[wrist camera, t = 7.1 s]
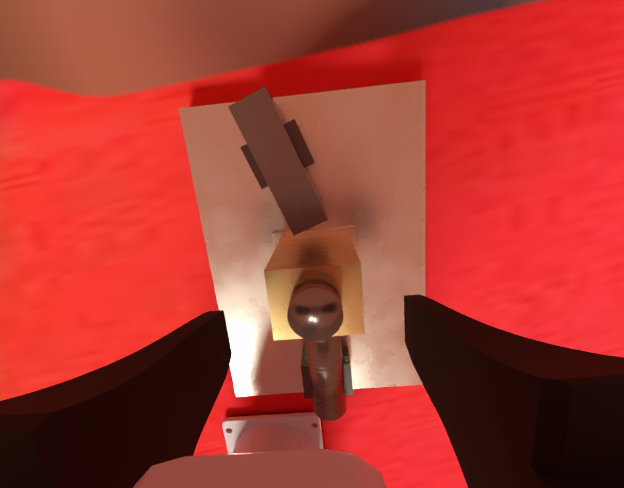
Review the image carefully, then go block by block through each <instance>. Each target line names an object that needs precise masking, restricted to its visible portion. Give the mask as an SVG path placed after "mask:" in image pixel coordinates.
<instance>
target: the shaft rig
mask: <svg viewBox="0 0 624 488" xmlns="http://www.w3.org/2000/svg"><path fill="white" fill-rule="evenodd" d="M179 113H180V118H181V123H182V128H183V133H184V138H185V143H186V148H187V153H188V158H189V163H190V168H191V173H192V178H193V183H194V188H195V193H196V198H197V203H198V208H199V213H200V218H201V223H202V228H203V233H204V238H205V243H206V248H207V253H208V258H209V263H210V268H211V273H212V278H213V283H214V288H215V293H216V298H217V303H218V308H219V311H220V310H224V315H225V320H226V325H227V330H228V335H229V341H230V346H231V351H232V357H231V361H230V368H231V373H232V378H233V383H234V388H235V393H236V397H240V396H255V395H270V394H286V393H301V392H304V396H305V398H312V401H313V409H314V413H315V414H316V416H318V417H319V418H320V419H323V420H327V421H331V420H336V419H338V418H340V417H341V416H342V415H343V414H344V413H345V411H346V396H348V395H353V389H361V388H377V387H392V386H407V385H422V384H423V383H422V381H421V379H420V378H419V376H418V374H417V372H416V370H415V368H414V366H413V364H412V361H411V358H410V355H409V353H408V350H407V347H406V344H405V328H404V296H405V295H418V294H420V295H423V296H425V297H426V80H421V81H413V82H404V83H395V84H386V85H378V86H369V87H360V88H352V89H343V90H334V91H325V92H317V93H308V94H299V95H291V96H282V97H273V98H272V96H271V94H270V93H269V92H268V90H267V89H266V87H265V86H264V87H263V88H261V89H259V90H257V91H255V92H254V93H252V94H250V95H248V96H246V97H244V98H243V99H241V100H239V101H237V102H230V103H221V104H212V105H204V106H195V107H186V108H179ZM344 235H349V236H350V239H351V241H352V243H353V246H354V248H355V250H356V253H357V255H358V257H359V260H360V262H361V272H362V291H363V310H364V328H365V334H359V335H345V336H331V337H330V338H327V339H325V340H320V341H311V340H307V339H304V338H302V339H288V340H274V338H273V331H272V324H271V318H270V311H269V304H268V297H267V290H266V283H265V276H264V269H265V267H266V266H267V264H268V262H269V260H270V258H271V256H272V254H273V252H274V250H275V248H276V246H277V245H278V243H279V241H286V240H298V239H309V238H321V237H333V236H344Z"/></svg>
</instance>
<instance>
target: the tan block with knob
mask: <svg viewBox="0 0 624 488" xmlns="http://www.w3.org/2000/svg"><path fill="white" fill-rule="evenodd" d="M264 276H265V283H266V290H267V297H268V304H269V311H270V318H271V324H272V331H273V338H274V340H288V339H302V338H304V339H307V340H311V341H320V340H325V339H327V338H330V337H331V336H345V335H359V334H365V328H364V310H363V291H362V272H361V262H360V260H359V257H358V255H357V253H356V250H355V248H354V246H353V243H352V241H351V239H350V236H349V235H344V236H333V237H321V238H309V239H298V240H286V241H279V243H278V245H277V246H276V248H275V250H274V252H273V254H272V256H271V258H270V260H269V262H268V264H267V266H266V267H265V269H264Z"/></svg>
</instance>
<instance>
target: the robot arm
mask: <svg viewBox="0 0 624 488" xmlns="http://www.w3.org/2000/svg"><path fill="white" fill-rule="evenodd" d="M404 328H405V344H406V347H407V350H408V353H409V355H410V358H411V361H412V364H413V366H414V368H415V370H416V372H417V374H418V376H419V378H420V379H421V381H422V383H423V385H424V387H425V389H426V391H427V393H428V395H429V397H430V399H431V401H432V403H433V404H434V406H435V408H436V410H437V412H438V414H439V416H440V418H441V420H442V422H443V425H444V427H445V429H446V431H447V434H448V436H449V439H450V441H451V444H452V446H453V449H454V451H455V454H456V456H457V459H458V461H459V464H460V467H461V469H462V472H463V474H464V477H465V480H466V482H467V485H468V488H624V358H622V357H615V356H608V355H601V354H596V353H590V352H585V351H580V350H574V349H569V348H565V347H560V346H556V345H552V344H548V343H544V342H540V341H536V340H532V339H528V338H525V337H522V336H518V335H515V334H512V333H509V332H506V331H503V330H500V329H497V328H494V327H492V326H489V325H486V324H484V323H481V322H479V321H477V320H474V319H472V318H470V317H467V316H465V315H463V314H461V313H459V312H456V311H454V310H452V309H450V308H448V307H446V306H444V305H442V304H440V303H438V302H436V301H434V300H432V299H430V298H428V297H425V296H423V295H420V294H418V295H405V296H404ZM231 357H232V351H231V346H230V341H229V335H228V330H227V325H226V320H225V315H224V310H220V311H209V312H206V313H204V314H202V315H200V316H198V317H196V318H195V319H193V320H191V321H190V322H188V323H186V324H184V325H183V326H181V327H179V328H178V329H176V330H174V331H173V332H171V333H169V334H168V335H166V336H164V337H162V338H161V339H159V340H157V341H155V342H154V343H152V344H150V345H148V346H146V347H145V348H143V349H141V350H139V351H137V352H135V353H133V354H131V355H129V356H127V357H125V358H122V359H120V360H118V361H116V362H114V363H111V364H109V365H107V366H104V367H102V368H99V369H97V370H94V371H92V372H89V373H87V374H84V375H82V376H79V377H77V378H74V379H71V380H68V381H65V382H63V383H60V384H57V385H54V386H51V387H48V388H44V389H41V390H38V391H35V392H32V393H28V394H25V395H22V396H18V397H14V398H11V399H7V400H3V401H0V488H387V487H386V485H385V482H384V480H383V477H382V475H381V472H380V471H378V470H377V469H376V468H374V467H373V466H371V465H370V464H368V463H367V462H365V461H364V460H362V459H361V458H359V457H358V456H356V455H355V454H353V453H349V452H342V451H335V450H329V449H324V446H323V437H322V428H321V419H320V418H319V417H318V416H316V414H315V413H314V412H304V413H288V414H272V415H256V416H240V417H227V418H225V419H224V420H223V423H222V427H223V432H224V436H225V441H226V445H227V450H228V454H217V455H199V456H193V454H194V451H195V448H196V445H197V442H198V440H199V437H200V435H201V432H202V430H203V428H204V425H205V423H206V421H207V419H208V416H209V414H210V412H211V410H212V407H213V405H214V403H215V401H216V399H217V396H218V394H219V392H220V389H221V387H222V385H223V383H224V380H225V378H226V375H227V371H228V368H229V364H230V361H231ZM313 423H316V424H313ZM229 428H230V429H229Z"/></svg>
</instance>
